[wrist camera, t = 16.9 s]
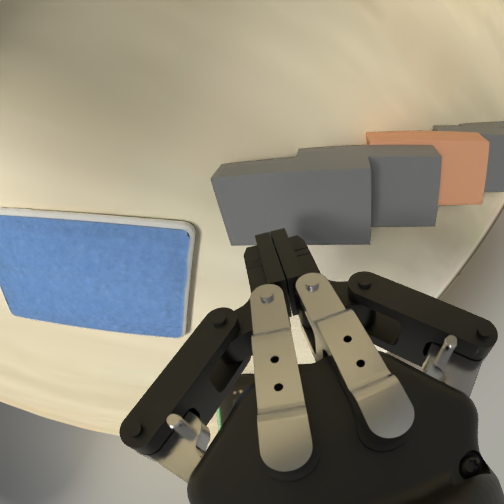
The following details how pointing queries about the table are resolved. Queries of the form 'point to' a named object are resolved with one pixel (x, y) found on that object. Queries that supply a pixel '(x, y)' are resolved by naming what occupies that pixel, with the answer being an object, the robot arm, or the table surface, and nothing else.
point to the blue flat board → (97, 270)
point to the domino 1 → (297, 199)
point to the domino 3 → (449, 160)
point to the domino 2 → (397, 181)
